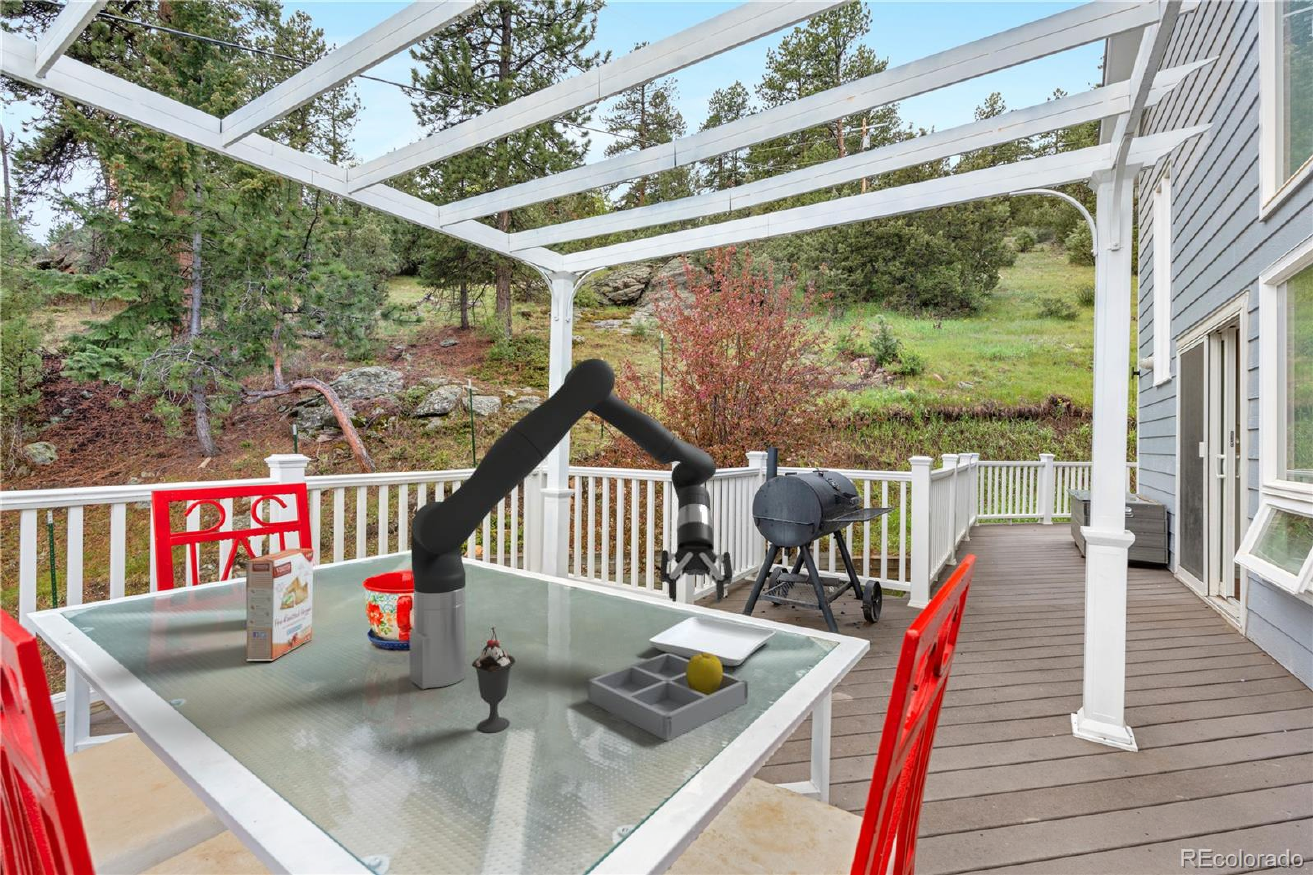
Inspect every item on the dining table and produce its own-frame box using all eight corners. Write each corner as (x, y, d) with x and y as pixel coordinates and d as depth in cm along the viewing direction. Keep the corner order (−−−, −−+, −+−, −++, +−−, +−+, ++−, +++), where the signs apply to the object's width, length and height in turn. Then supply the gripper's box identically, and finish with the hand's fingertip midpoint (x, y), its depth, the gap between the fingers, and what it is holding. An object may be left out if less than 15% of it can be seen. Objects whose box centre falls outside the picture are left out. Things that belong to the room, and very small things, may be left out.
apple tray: (667, 741, 91) (667, 717, 91) (588, 700, 105) (587, 680, 105) (747, 702, 105) (747, 681, 105) (667, 670, 119) (667, 652, 119)
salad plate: (777, 644, 136) (777, 628, 136) (740, 676, 117) (740, 658, 117) (692, 628, 146) (692, 614, 146) (646, 656, 128) (646, 640, 128)
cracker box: (274, 663, 123) (274, 560, 123) (245, 663, 123) (245, 559, 123) (314, 640, 137) (314, 547, 137) (288, 640, 137) (288, 547, 137)
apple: (693, 706, 101) (693, 658, 101) (680, 691, 107) (680, 646, 107) (728, 702, 103) (728, 655, 103) (714, 687, 109) (714, 642, 109)
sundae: (498, 712, 101) (498, 621, 101) (523, 724, 97) (523, 629, 97) (463, 726, 96) (463, 631, 96) (488, 740, 92) (488, 640, 92)
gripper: (661, 519, 126) (660, 589, 114) (730, 521, 126) (735, 591, 114) (660, 540, 131) (659, 609, 120) (726, 541, 131) (731, 611, 120)
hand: (696, 600), depth 117 cm, fingers open, 8 cm apart
